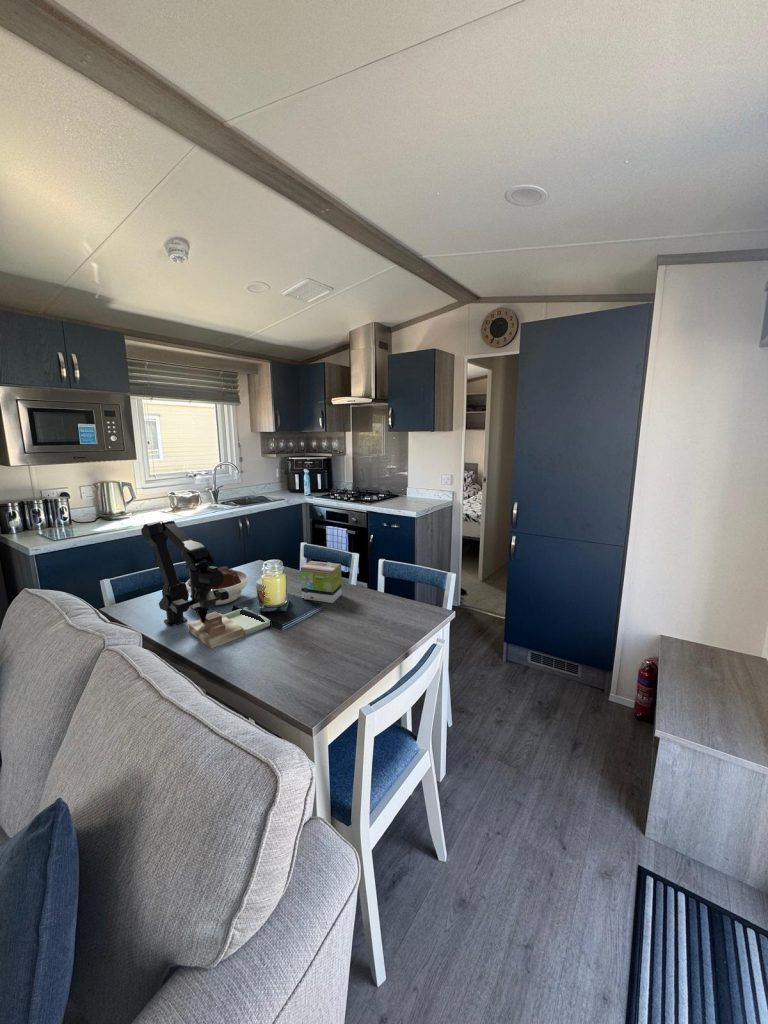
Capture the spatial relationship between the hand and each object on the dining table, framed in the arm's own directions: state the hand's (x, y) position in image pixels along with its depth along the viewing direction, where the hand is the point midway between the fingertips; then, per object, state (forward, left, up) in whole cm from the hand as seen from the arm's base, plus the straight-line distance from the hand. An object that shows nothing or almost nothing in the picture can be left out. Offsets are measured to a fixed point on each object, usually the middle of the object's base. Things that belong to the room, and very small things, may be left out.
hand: (202, 622), depth 154 cm
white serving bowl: (-24, +18, -4) cm, 30 cm away
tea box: (+6, +50, -4) cm, 50 cm away
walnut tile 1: (0, +4, 0) cm, 4 cm away
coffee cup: (-1, +28, -4) cm, 28 cm away
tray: (+4, +14, -4) cm, 15 cm away
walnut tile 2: (+8, +1, 0) cm, 8 cm away
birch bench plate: (+4, +3, -4) cm, 6 cm away
